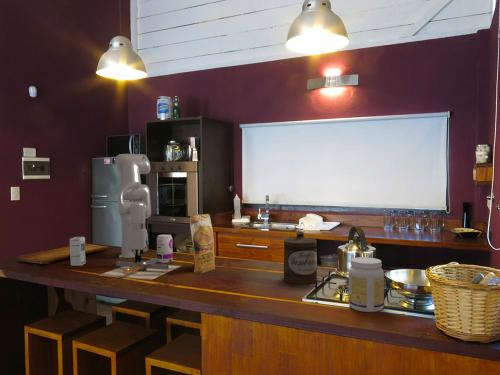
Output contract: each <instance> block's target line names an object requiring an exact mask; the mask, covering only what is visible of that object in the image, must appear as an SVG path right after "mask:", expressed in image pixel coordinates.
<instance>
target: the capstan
mask: <svg viewBox="0 0 500 375" xmlns="http://www.w3.org/2000/svg"><path fill="white" fill-rule="evenodd" d="M115 262H116V263H115V266H116V267H129V268H124V269H123V274H130V273H131V272H134V271H136V270H138V271H143V270H147V268H150V269H163V270H167V269H169V267H168V265H169V264H164V263H160V262H159V258H157V257H153V258H151V259H148V260H141V261H139V262H135V261H134V262H133V261H119V260H118V261H115Z"/></svg>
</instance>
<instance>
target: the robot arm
mask: <svg viewBox="0 0 500 375" xmlns="http://www.w3.org/2000/svg"><path fill="white" fill-rule="evenodd" d="M150 163H151V162H150V160H149V158H148V157H147V155H146V154H144V153H143V154H142V153H120V154H118V155H116V157H115V167H116V170H117V173H118V175H119V177H120V190H119V192H118V194H117V211H118V214H119V216H120V223H121V226H120V228H121V254H119V255H118V258H119V259H120V258H127V259H128V258H129V259H130V258H134V262H139V261H143V259H142V256H143V253H144V252H148V251H149V249H148V248H149V238H148V236H149V234H148V230H147V229H146V219H148V218H151V215H152V205H151V191H150V188H149V186H148V185H147V184H142V180H141V175H148V174H149V173H150V172H151V164H150Z"/></svg>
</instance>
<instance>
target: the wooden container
mask: <svg viewBox="0 0 500 375" xmlns="http://www.w3.org/2000/svg"><path fill="white" fill-rule="evenodd" d="M295 234H296V236H295V237H288V238H284V240H283V281H284V282H286V283H288V284H294V285H309V284H313V283H316V282H318V281H317V280H318V249H317V245H318V244H317V239H315V238H312V237H305V233H304V232H303V231H302V230H301V231H300V230H299V231H297V232H296V233H295Z"/></svg>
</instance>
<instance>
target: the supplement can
mask: <svg viewBox="0 0 500 375" xmlns="http://www.w3.org/2000/svg"><path fill="white" fill-rule="evenodd" d="M156 258H159V262H158V263H159V264H164V263H172V262H173V258H174V256H173V237H172V234H159V235H157V237H156Z"/></svg>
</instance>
